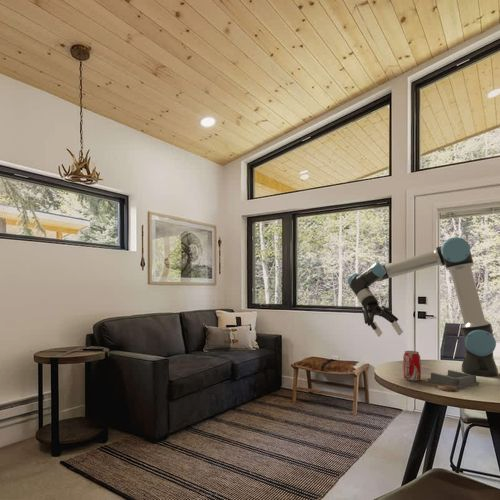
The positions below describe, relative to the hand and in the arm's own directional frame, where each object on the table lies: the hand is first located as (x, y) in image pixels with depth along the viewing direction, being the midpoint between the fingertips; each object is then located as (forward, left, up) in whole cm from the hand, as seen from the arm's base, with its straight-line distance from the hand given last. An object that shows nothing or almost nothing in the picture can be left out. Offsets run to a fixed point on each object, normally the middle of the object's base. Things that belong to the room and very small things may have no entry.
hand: (390, 334), depth 186 cm
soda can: (0, +11, -19) cm, 22 cm away
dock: (-11, +23, -18) cm, 32 cm away
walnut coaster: (0, +28, -18) cm, 34 cm away
